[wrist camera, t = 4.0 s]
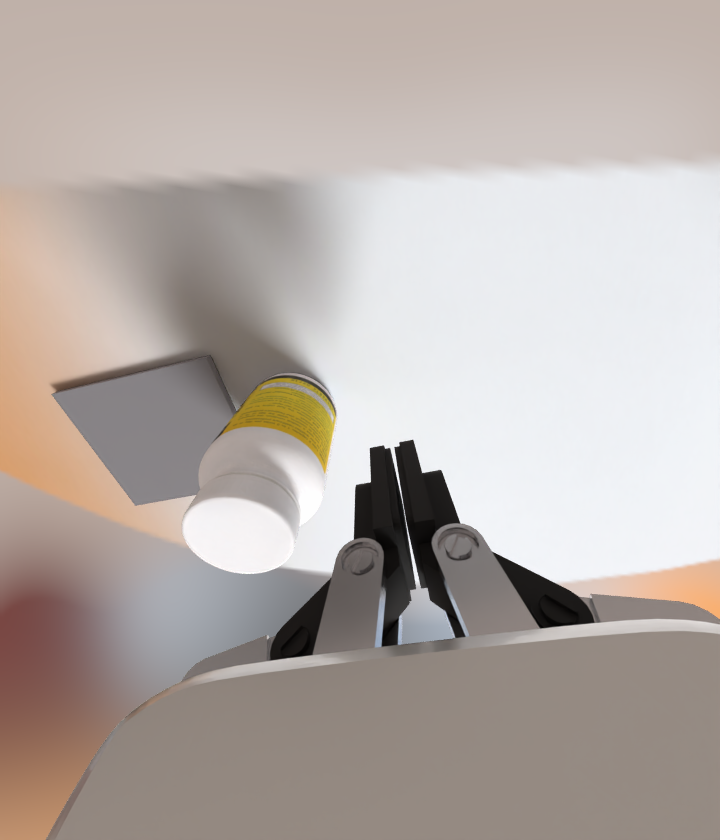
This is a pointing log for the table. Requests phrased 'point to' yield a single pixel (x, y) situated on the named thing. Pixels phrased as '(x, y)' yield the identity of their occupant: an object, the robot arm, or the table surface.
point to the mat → (152, 425)
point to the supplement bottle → (263, 476)
